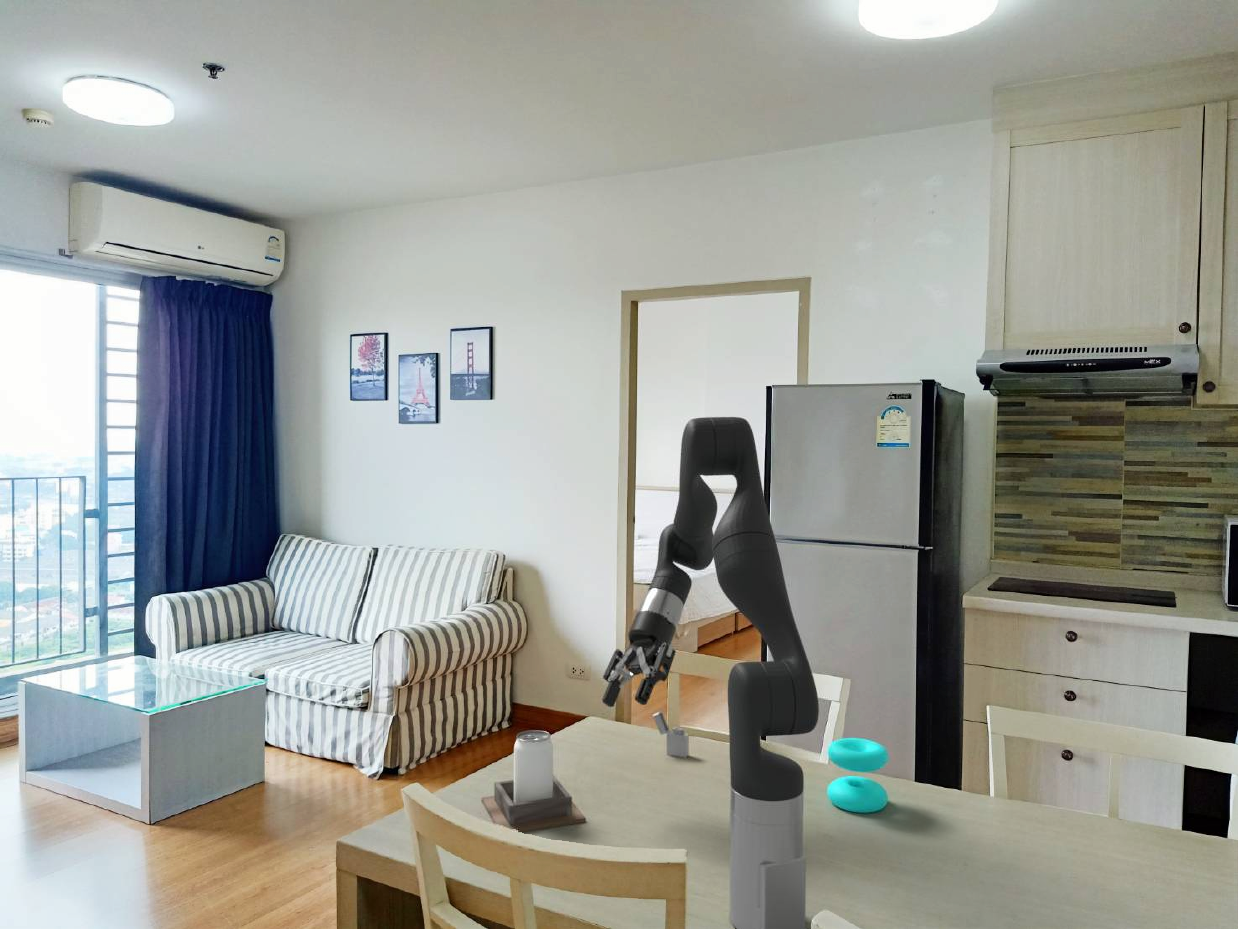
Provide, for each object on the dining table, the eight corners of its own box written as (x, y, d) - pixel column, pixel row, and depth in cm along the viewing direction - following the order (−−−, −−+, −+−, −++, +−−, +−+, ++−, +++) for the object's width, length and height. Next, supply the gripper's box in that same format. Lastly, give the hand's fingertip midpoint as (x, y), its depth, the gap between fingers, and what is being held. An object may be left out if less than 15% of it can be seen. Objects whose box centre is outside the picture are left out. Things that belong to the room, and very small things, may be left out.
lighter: (688, 755, 172) (689, 714, 172) (685, 758, 171) (686, 717, 171) (655, 749, 175) (656, 710, 175) (652, 752, 174) (652, 712, 174)
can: (546, 817, 142) (547, 743, 141) (508, 813, 143) (508, 740, 143) (557, 801, 148) (557, 730, 148) (520, 798, 149) (520, 728, 149)
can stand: (585, 821, 141) (585, 799, 141) (500, 835, 136) (500, 812, 136) (560, 790, 154) (560, 769, 154) (481, 801, 149) (481, 780, 149)
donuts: (816, 739, 152) (863, 733, 156) (815, 796, 152) (862, 788, 156) (851, 758, 143) (901, 751, 146) (850, 819, 143) (900, 810, 147)
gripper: (616, 614, 158) (581, 694, 149) (669, 604, 147) (635, 689, 138) (644, 637, 161) (611, 716, 151) (698, 628, 150) (667, 713, 141)
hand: (623, 703), depth 145 cm, fingers open, 8 cm apart
